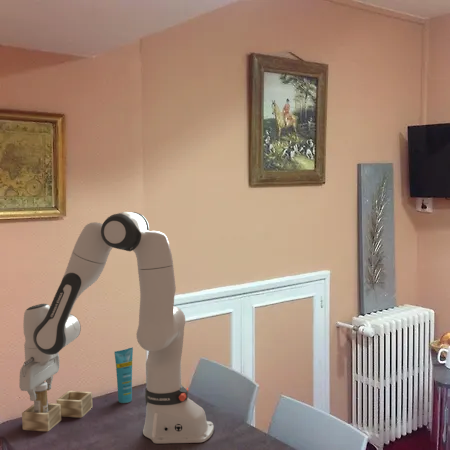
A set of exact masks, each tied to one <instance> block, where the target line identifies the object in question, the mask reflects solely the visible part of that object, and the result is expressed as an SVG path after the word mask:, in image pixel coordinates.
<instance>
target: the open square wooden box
mask: <svg viewBox="0 0 450 450" xmlns="http://www.w3.org/2000/svg"><path fill="white" fill-rule="evenodd" d="M21 419H22V420H21V421H22V425H21V426H22V430H23V431H37V432H49V431H50V430H52V429H53V428H54V427H55V426H57V425H58V424H59V423H60V422H61V421H62V416H61V404H57V403H50V402H48V412H47V413H36V412H34V403H33V404H32V405H31V406H29V407H28V408H27V409H26V410H24V411H22V412H21Z"/></svg>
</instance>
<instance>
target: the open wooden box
mask: <svg viewBox="0 0 450 450" xmlns="http://www.w3.org/2000/svg"><path fill="white" fill-rule="evenodd" d="M56 404H61V417H64V418H66V417H67V418H81V419H82V418H83V417H85V415H86V414H87V413H89V412H90V410H92V409H93V391H81V390H80V391H75V390H68V391H66V392H65V393H64V394H63V395H60V397H59V398H57V399H56ZM91 408H92V409H91Z"/></svg>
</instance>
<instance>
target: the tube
mask: <svg viewBox="0 0 450 450" xmlns="http://www.w3.org/2000/svg"><path fill="white" fill-rule="evenodd" d="M133 351H134V347H128V348H125V349H121V350H115V351H114V353H113V354H114V360H115V361H114V362H115V371H116V383H117V384H116V385H117V387H116V388H117V401H118V403H121V404H127V403H130V402H132V401H133V353H134V352H133Z"/></svg>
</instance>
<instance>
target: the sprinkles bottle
mask: <svg viewBox="0 0 450 450" xmlns="http://www.w3.org/2000/svg"><path fill="white" fill-rule="evenodd" d="M47 388H48V387H47V383H46V381H44V382H43V383H41V384H40V385H38V386H37V387H35V389H36V390H35V393H36V394H37V399H36V400H35V401H33V404H34V412H36V413H47V412H48V403H49V402H48V401H49V400H48V390H47Z"/></svg>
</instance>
